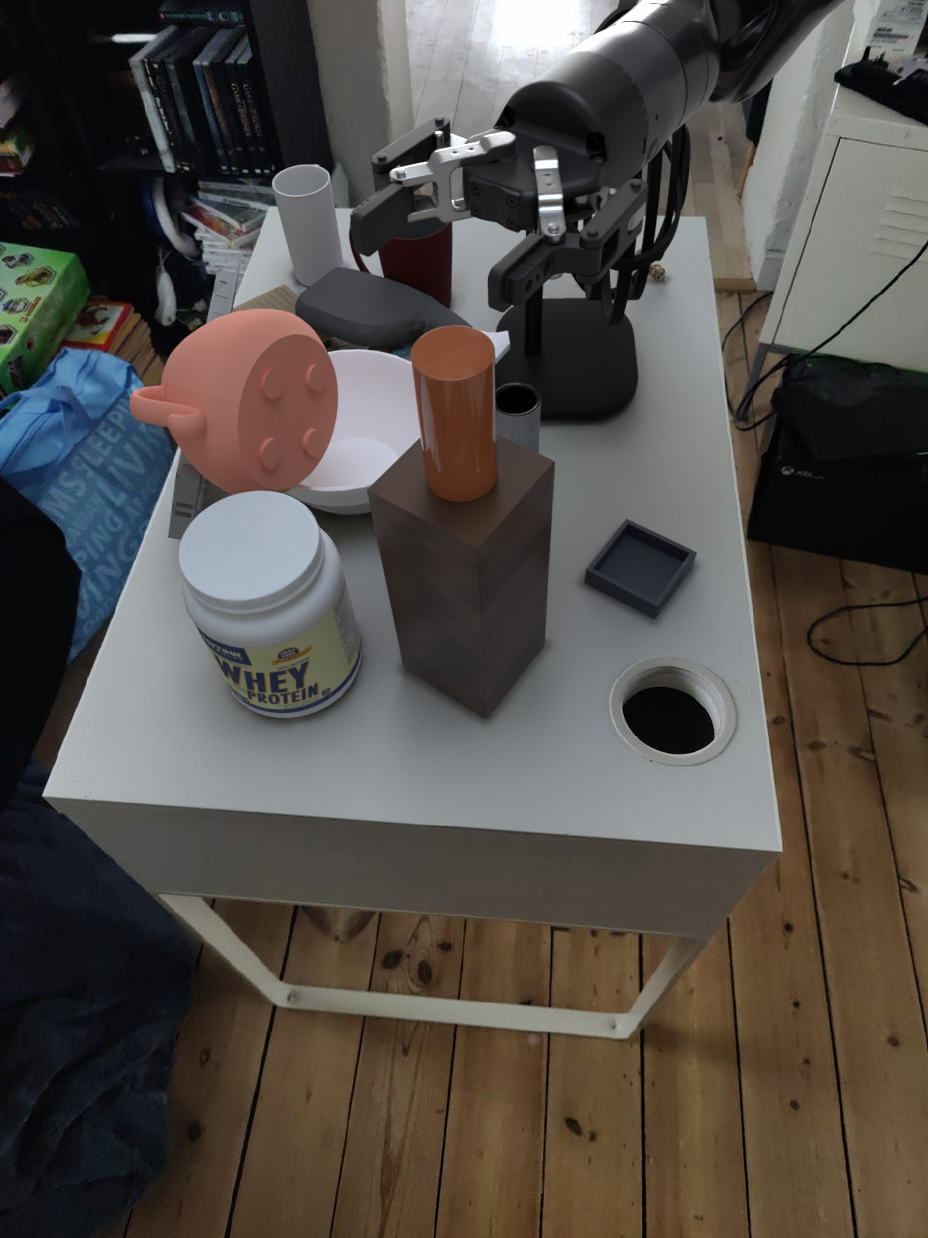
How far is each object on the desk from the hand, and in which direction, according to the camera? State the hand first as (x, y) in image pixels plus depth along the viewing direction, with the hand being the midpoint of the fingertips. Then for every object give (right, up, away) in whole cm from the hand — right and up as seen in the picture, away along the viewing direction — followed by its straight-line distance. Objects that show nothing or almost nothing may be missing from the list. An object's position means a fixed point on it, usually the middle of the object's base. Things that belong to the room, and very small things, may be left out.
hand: (423, 265), depth 42 cm
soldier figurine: (+23, +26, +60) cm, 69 cm away
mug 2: (-5, +21, +62) cm, 66 cm away
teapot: (-11, 0, +29) cm, 31 cm away
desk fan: (+14, +11, +54) cm, 57 cm away
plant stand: (+3, -21, +34) cm, 40 cm away
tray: (+18, -13, +38) cm, 44 cm away
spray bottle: (-15, +20, +56) cm, 61 cm away
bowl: (-9, -3, +46) cm, 47 cm away
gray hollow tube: (+7, -3, +46) cm, 46 cm away
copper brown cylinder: (+2, -8, +15) cm, 17 cm away
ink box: (-16, +19, +59) cm, 64 cm away
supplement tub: (-13, -21, +34) cm, 42 cm away
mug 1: (-16, +28, +68) cm, 75 cm away
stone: (-7, +14, +55) cm, 57 cm away
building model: (-22, +3, +42) cm, 47 cm away
